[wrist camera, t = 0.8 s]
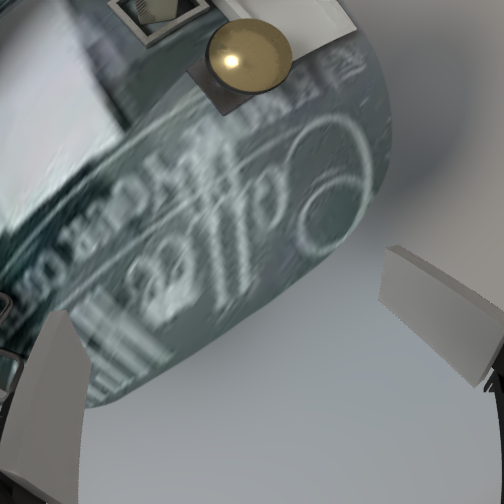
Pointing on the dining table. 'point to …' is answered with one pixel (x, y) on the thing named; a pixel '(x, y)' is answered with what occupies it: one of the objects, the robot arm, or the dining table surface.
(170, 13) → the box
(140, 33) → the pin seat
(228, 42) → the mounted dome knob
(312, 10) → the tray
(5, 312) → the chair
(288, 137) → the dining table surface
